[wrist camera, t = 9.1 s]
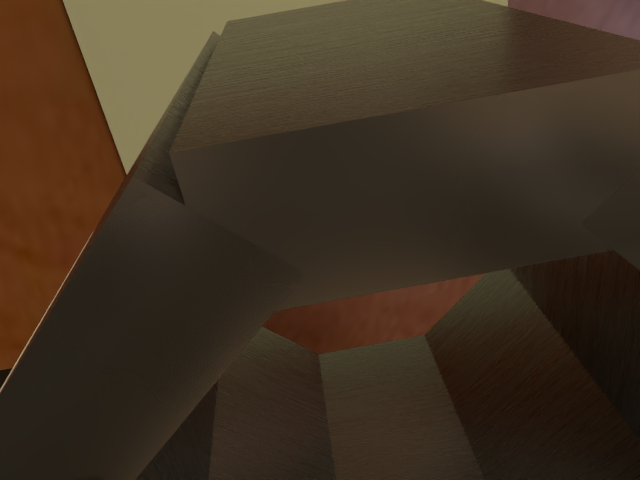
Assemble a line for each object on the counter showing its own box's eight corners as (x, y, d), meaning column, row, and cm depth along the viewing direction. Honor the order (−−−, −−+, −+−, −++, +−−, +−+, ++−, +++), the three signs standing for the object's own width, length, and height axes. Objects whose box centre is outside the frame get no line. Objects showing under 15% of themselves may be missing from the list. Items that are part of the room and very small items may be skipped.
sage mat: (176, 296, 29) (174, 305, 28) (17, -144, 19) (8, -147, 18) (493, 239, 29) (498, 247, 28) (506, -226, 19) (515, -232, 18)
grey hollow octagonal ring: (203, 416, 15) (161, 748, 9) (62, 50, 10) (-280, 231, 4) (548, 352, 15) (749, 637, 9) (590, -43, 10) (1137, -19, 4)
